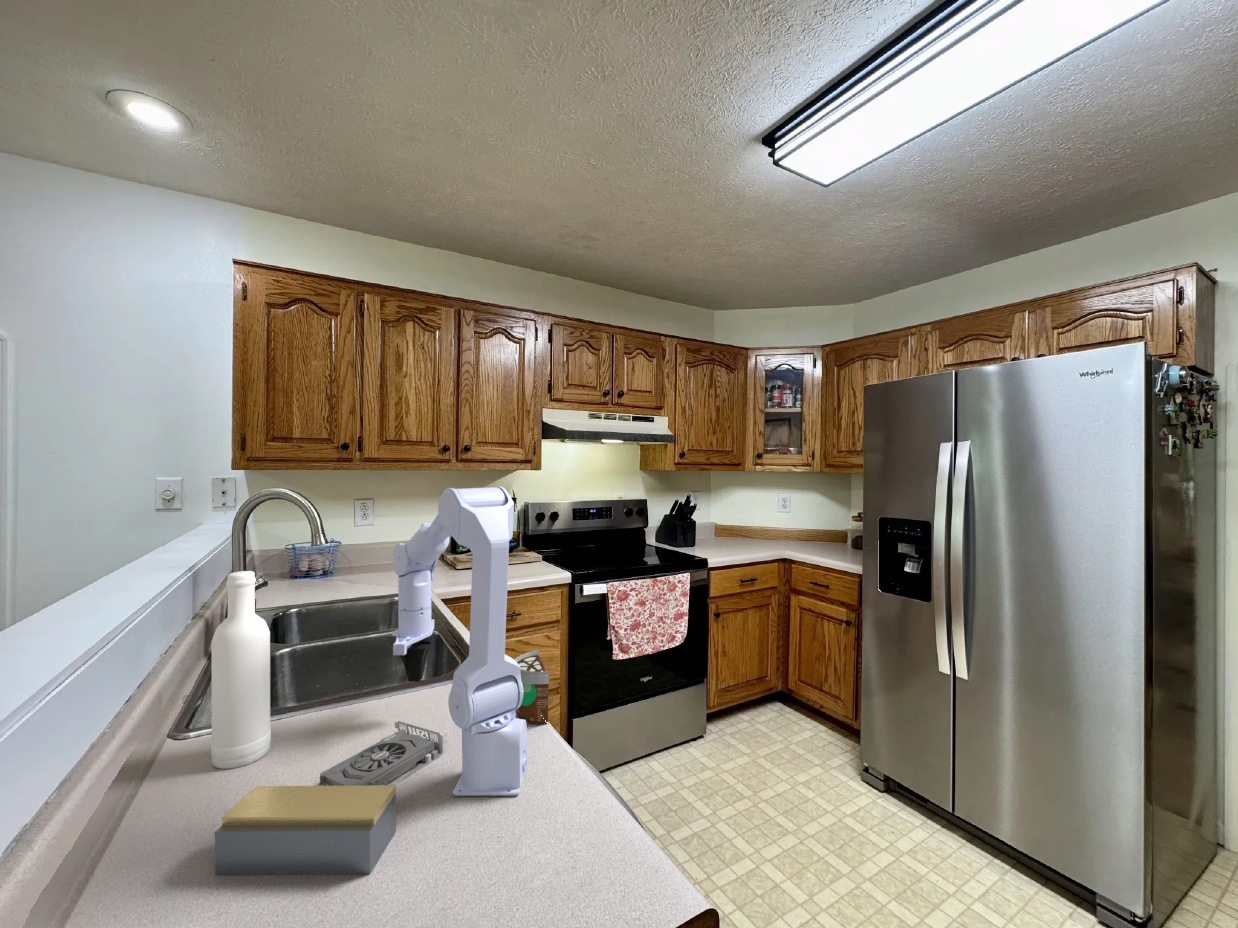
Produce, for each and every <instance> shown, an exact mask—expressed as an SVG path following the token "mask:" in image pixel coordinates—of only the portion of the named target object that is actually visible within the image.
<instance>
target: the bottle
mask: <svg viewBox="0 0 1238 928" xmlns="http://www.w3.org/2000/svg"><path fill="white" fill-rule="evenodd" d="M255 573H256V572H254V571H253V570H239V571H235V572H231V573H229V574H228V575H227V580H226V583H225V585H226V587H227V617H226V618H225V619H224V620H223V621H222V622H221V623H219V625H218V626H217V627H216V629H215V631H214V634H213V637H212V638H211V639H212V640H211V642H210V643H211V645H210V646H211V651H210V652H211V653H210V654H211V744H210V755H211V756H210V757H211V764H212V766H213V767H215V768H217V769H221V770H222V769H223V770H224V769H225V770H229V769H235V768H236V769H237V768H240V767H244V766H247V765H250V764H252V763H255V762H256V761H259V760H261V758H264V757H265V756H266V755H267V754H268V752H270V750H271V739H272V729H271V631H270V629H269V626H268V623H267V621H266V620H265V619H264V618H262V617H261V616H259V615H258V614H257V613H256V606H255V605H256V604H255V603H256V598H255V597H256V588H255V587H256V581H257V579H256V577H255V575H256V574H255Z"/></svg>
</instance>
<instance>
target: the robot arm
mask: <svg viewBox="0 0 1238 928" xmlns="http://www.w3.org/2000/svg"><path fill="white" fill-rule="evenodd" d="M437 506H438V507H437V508H438V509H437V511H438V513H437V515H436V516H435V518H434V519H433V521H432V522H423V523H422V524H421V525H420V527H419V528H418V530H417V531H416V532H415V533H414V534H413V535H412V537H411V538H410V539H409V540H408V542H407V543H402V542H399V543H396V545H395V547H394V548H393V551H392V566H393V570H394V572H395V574H396V575H397V576H398V578H397V580H398V581H397V582H398V585H397V586H398V587H397V589H398V590H397V591H398V595H397V596H398V597H397V599H398V605H397V606H398V607H397V608H398V629H395V630H393V631H391V632H392V633H391V636H392V637H396V638H395V642H394V643H393V644H392V655H393V656H399V657H400V659H401V661H402V663H403V667H404V670H405V673H406V678H407V681H408V683H410V682H411V683H412V682H413V683H416V682H417V683H419V682H421V681H422V680H423V676H424V673H425V668H426V663H427V660H428V656H429V652H430V650H431V648H432V646H433V644H434V643H435V640H434V639H435V638H434V637H432V635H433V631H434V630H435V619H432V582H434V580H435V571H436V567H437V565H438V557H440V555H441V554H442V553H444V551H445V550H447V548H448V546H449V544H450V536H451V537H452V538H453V539H454V541H455V542H456V543H457V544H458V545H459V546H462V547H465V548H468V549H469V550H470V551H471V553H472V558H471V559H472V562H471V563H472V564H471V590H470V591H471V592H470V593H471V594H470V617H469V618H470V621H469V624H470V625H469V644H468V645H469V649H468V657H466V659H464V661H463V662H462V663H461V664H460V665H459V666H458V667H457V669H456V670H455V671H454V672H453V678H452V685H451V689H450V691H449V693H448V699H447V701H448V710H449V714H450V717H451V719H452V721H453V723H454V725H456V726H457V727H458V729H461V753H462V754H461V762H462V763H461V775H460V777H459V779H458V781H457V782H456V785H455V787H454V788H453V791H452V795H453V796H461V797H462V796H463V797H464V796H472V797H473V796H474V797H475V796H518V795H519V794H520V791H521V788H522V785H523V782H524V779H525V776H526V772H527V769H528V765H529V763H528V727H527V724H528V723H526V720H524V719H519V718H518V717H517V714H516V712H517V709H518V708H519V707H520V706H521V703H522V700H523V685H522V681H521V675H520V666H519V665H518V663H517V662H516V661H515V659H514V658H512V657H511V656H509V655H507V654H506V651H505V650H506V632H507V631H506V629H507V628H506V627H507V606H508V605H507V602H508V578H509V552H510V551H509V550H510V541H511V540H512V539H513V535H514V534H513V532H514V510H515V502H514V500H513V499H512V497H511V496H510V494H509V492H508V491H507V489H506V488H505V487H504V486H501V485H498V486H497V485H496V486H494V487H493V486H492V487H472V488H471V487H469V488H467V487H466V488H454V487H448V488H445V489H444V491H442V493H441V495H440V496H439V498H438V505H437Z"/></svg>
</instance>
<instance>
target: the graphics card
mask: <svg viewBox="0 0 1238 928" xmlns="http://www.w3.org/2000/svg"><path fill="white" fill-rule="evenodd" d="M394 728H396V729H397V731H394V733H393V734H391V735H390V736H388V737H386V738H384V739H381V740H380V741H378V742H376V743H375V744H373V745H370V746H369V747H366V748H365V749H363V750H361V751H360V752H357V753H355V754H354V755H352V756H350V757H348V758H346V759H345V760H342V761H341V762H339V763H337V764H336V765H333V766H331V767H329V768H328V769H325V770H324V771H322V772H321V773H320V775H319V784H320V785H324V784H326V786H370V785H387V784H389V783H390V782H392V781H394V780H395V779H397V778H398V777H400V776H402V775H403V774H405V773H406V772H408V771H410V772H408V773H407V774H406V775H405V776H404V777H403V778H401V780H399V782H397V783H396V784H399V783H401V782H402V781H404V780H406V779H407V778H409V777H410V776H412V775H413V774H415V773H417V772H418V771H420V770H422V769H423V768H425V767H426V766H428V765H429V764H431V763H432V762H434V761H435V760H438V759H439V758H441V757H442V756H443V754H445V752H448V750H449V749H447V748H448V732H446V733H445V732H444V734H441V733H440V732H437V731H435V730H431V729H427V728H424V727H420V726H417V725H414V724H411V723H409V722H408V723H407V722H404V721H401V720H398V721H394ZM414 733H415V734H414ZM422 733H424V734H423V735H422ZM419 761H420V762H419ZM418 762H419V763H418ZM411 769H412V770H411Z"/></svg>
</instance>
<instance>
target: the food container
mask: <svg viewBox="0 0 1238 928" xmlns="http://www.w3.org/2000/svg"><path fill="white" fill-rule="evenodd" d="M514 660H515V661H516V662H517V663H518V665H519V666H520V675H521V681H522V685H523V700H522V703H521V706H520V707H519V708H518V709H516V712H517V714H516V715H517V718H518V719H524V720H526V724H528V725H529V724H530V725H536V726H537V725H539V726H541V725H542V726H543V725H544V726H545V725H548V724H547V723H546V722H548V723H549V684H550V675H549V671H548V670H546V669H545V666H544V663H543V661H542V660H541V657H540V650H533V651H529V652H526V653H523V654H520V655H519V656H517V657H516V658H515V659H514ZM541 715H542V716H541ZM543 718H544V719H543ZM545 720H546V722H545Z"/></svg>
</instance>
